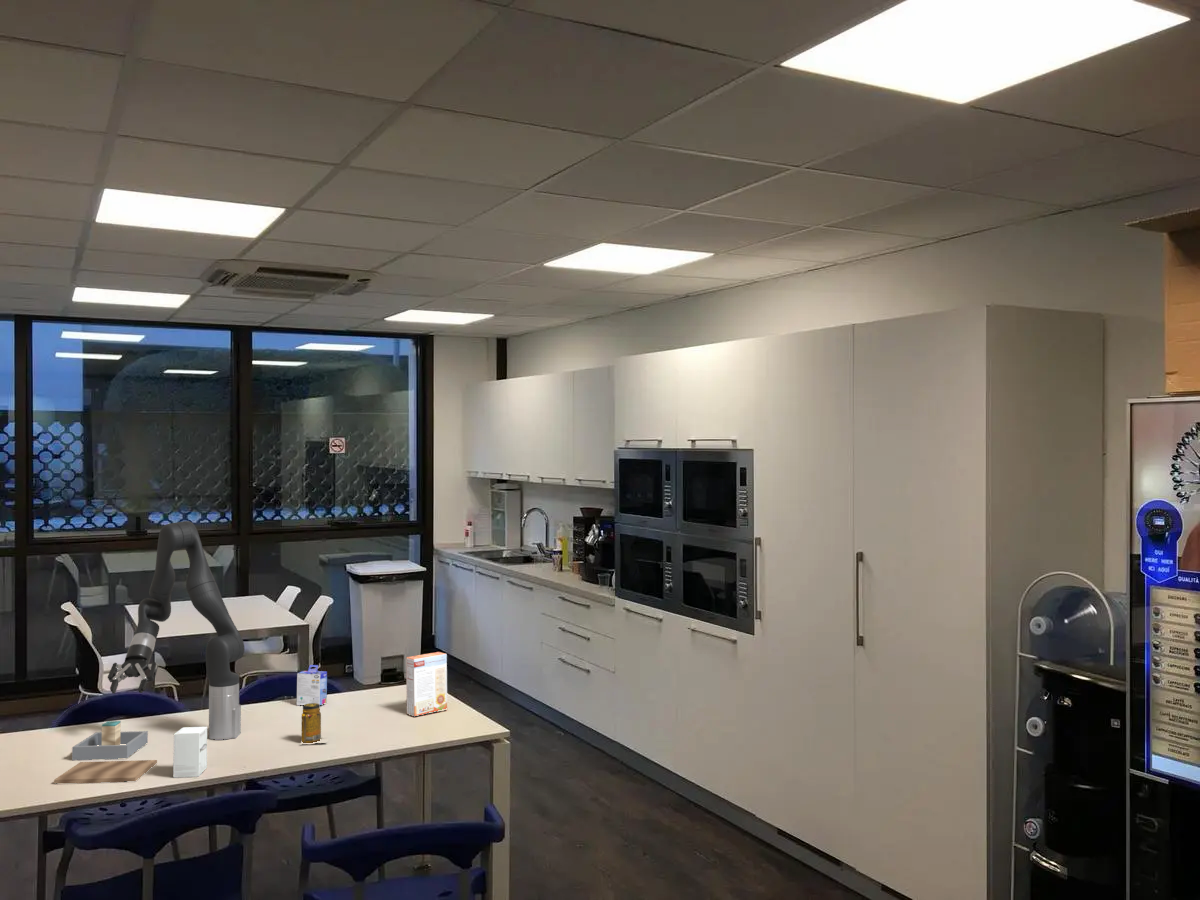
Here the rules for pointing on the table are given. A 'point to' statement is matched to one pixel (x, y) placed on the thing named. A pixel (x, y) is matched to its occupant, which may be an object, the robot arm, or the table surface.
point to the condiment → (311, 723)
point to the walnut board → (106, 771)
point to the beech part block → (111, 733)
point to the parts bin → (109, 746)
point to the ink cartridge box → (312, 686)
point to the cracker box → (426, 683)
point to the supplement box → (190, 752)
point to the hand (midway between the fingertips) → (126, 691)
